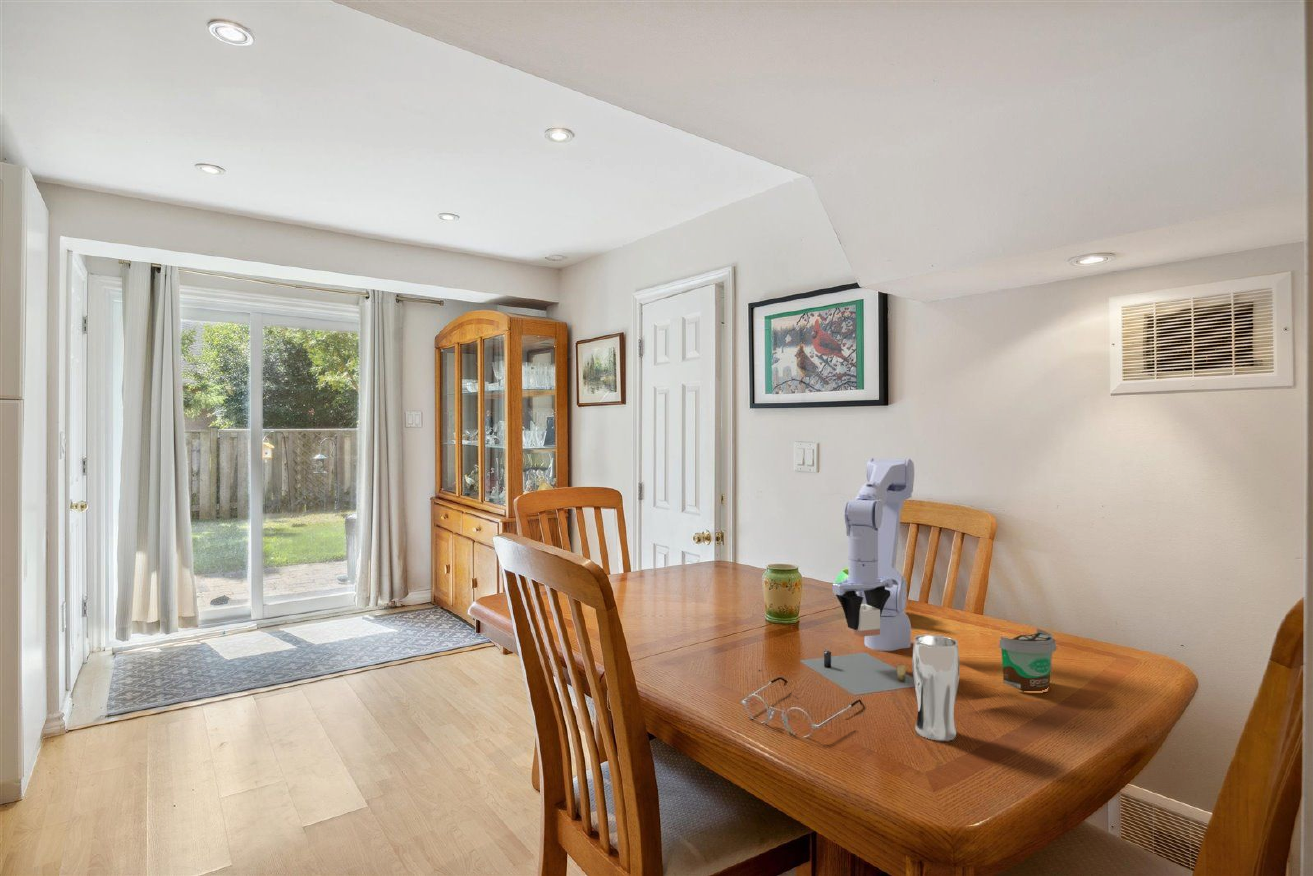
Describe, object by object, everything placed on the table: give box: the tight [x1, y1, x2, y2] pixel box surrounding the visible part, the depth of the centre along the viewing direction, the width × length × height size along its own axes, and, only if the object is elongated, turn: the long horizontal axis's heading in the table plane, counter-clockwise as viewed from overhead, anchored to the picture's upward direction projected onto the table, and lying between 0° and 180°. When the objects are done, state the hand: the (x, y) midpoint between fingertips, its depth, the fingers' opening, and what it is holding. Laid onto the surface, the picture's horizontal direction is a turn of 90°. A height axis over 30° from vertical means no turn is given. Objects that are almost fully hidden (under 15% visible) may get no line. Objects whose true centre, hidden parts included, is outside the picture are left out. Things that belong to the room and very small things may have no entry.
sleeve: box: [846, 604, 880, 638], centre depth 131 cm, size 5×5×5 cm
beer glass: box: [911, 633, 960, 742], centre depth 105 cm, size 7×7×15 cm
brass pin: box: [896, 663, 906, 682], centre depth 123 cm, size 1×1×3 cm
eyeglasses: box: [741, 676, 862, 738], centre depth 112 cm, size 16×19×5 cm
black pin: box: [823, 650, 832, 668], centre depth 131 cm, size 1×1×3 cm
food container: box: [998, 628, 1057, 692], centre depth 123 cm, size 12×6×10 cm, turn 117°
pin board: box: [798, 652, 915, 696], centre depth 128 cm, size 16×19×2 cm
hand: (863, 626), depth 131 cm, fingers closed on sleeve, 5 cm apart
